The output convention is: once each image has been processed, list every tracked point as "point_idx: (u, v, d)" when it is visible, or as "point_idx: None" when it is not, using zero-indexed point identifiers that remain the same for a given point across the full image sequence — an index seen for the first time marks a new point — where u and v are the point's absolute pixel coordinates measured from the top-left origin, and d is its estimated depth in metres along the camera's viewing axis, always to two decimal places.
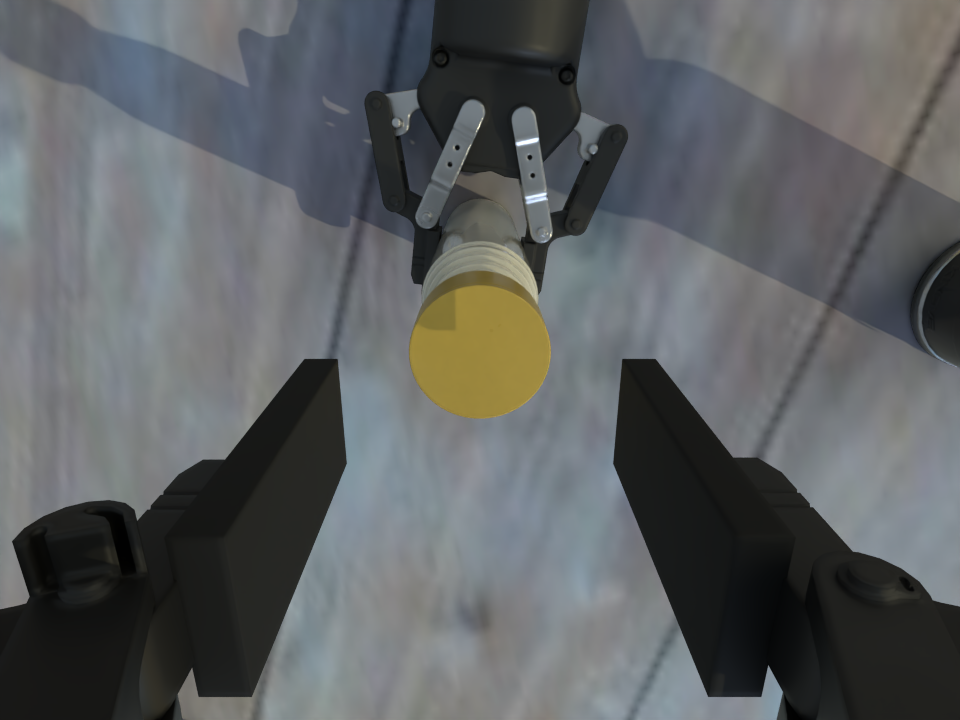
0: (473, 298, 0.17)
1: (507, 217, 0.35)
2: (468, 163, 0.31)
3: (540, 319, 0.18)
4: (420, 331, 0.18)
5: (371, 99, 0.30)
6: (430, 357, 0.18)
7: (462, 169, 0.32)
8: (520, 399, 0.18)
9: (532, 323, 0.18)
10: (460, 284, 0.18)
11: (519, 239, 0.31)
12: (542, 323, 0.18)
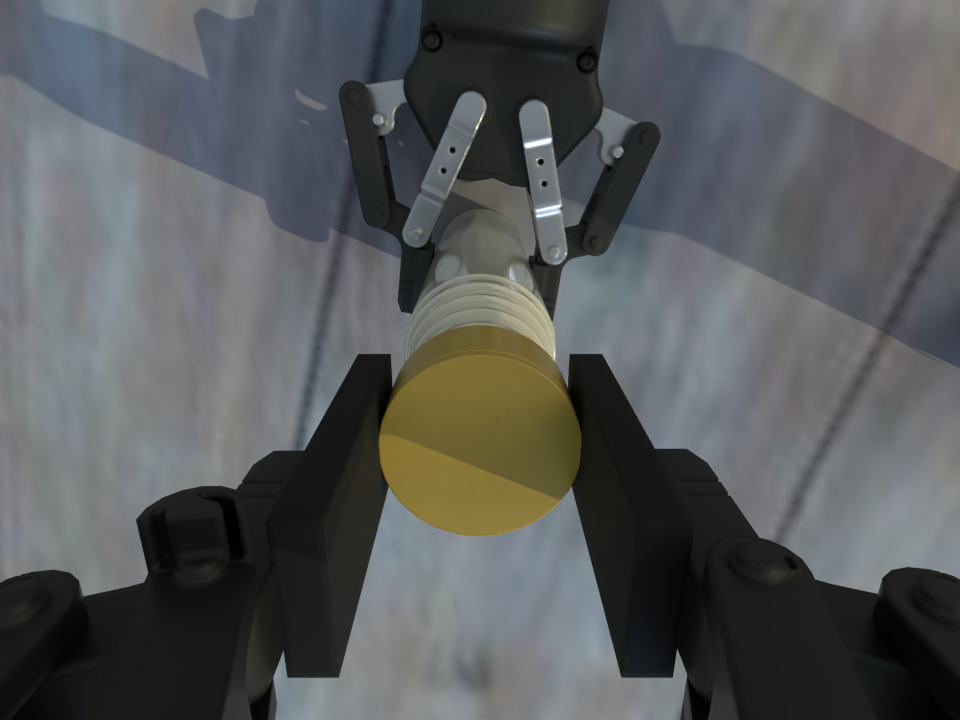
0: (470, 373, 0.12)
1: (512, 232, 0.29)
2: (466, 169, 0.26)
3: (568, 402, 0.12)
4: (394, 419, 0.12)
5: (347, 91, 0.25)
6: (409, 455, 0.12)
7: (458, 176, 0.26)
8: (537, 511, 0.13)
9: (556, 408, 0.12)
10: (452, 351, 0.12)
11: None
12: (571, 408, 0.12)
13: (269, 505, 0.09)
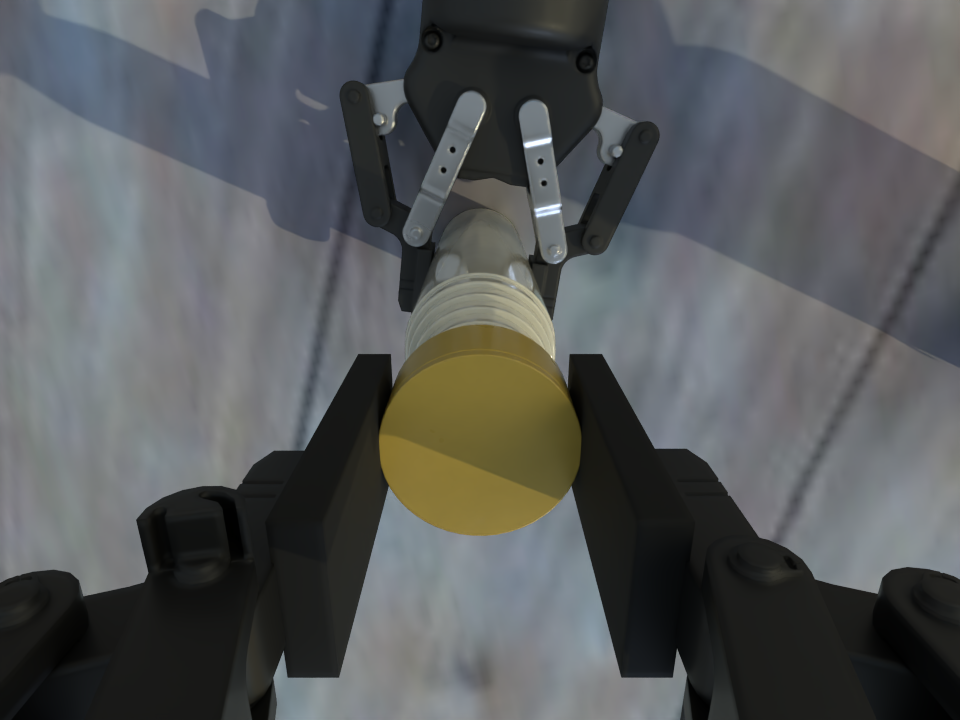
0: (399, 467, 0.13)
1: (512, 231, 0.30)
2: (466, 168, 0.26)
3: (414, 378, 0.12)
4: (456, 525, 0.13)
5: (348, 91, 0.25)
6: (492, 510, 0.13)
7: (459, 176, 0.26)
8: (545, 388, 0.12)
9: (421, 388, 0.12)
10: None
11: (527, 260, 0.26)
12: (419, 374, 0.12)
13: (269, 505, 0.09)
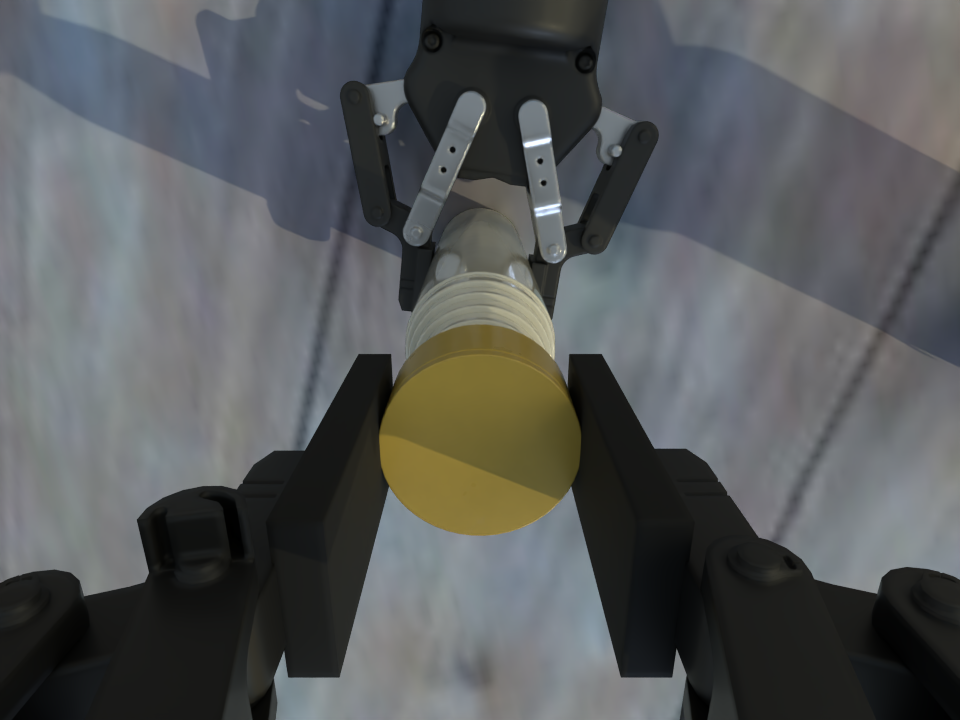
0: (508, 517, 0.13)
1: (512, 231, 0.30)
2: (466, 168, 0.26)
3: (413, 512, 0.13)
4: (570, 463, 0.13)
5: (348, 91, 0.25)
6: (549, 431, 0.12)
7: (459, 175, 0.26)
8: (402, 401, 0.12)
9: (422, 505, 0.13)
10: None
11: (527, 260, 0.26)
12: (408, 508, 0.13)
13: (270, 505, 0.09)
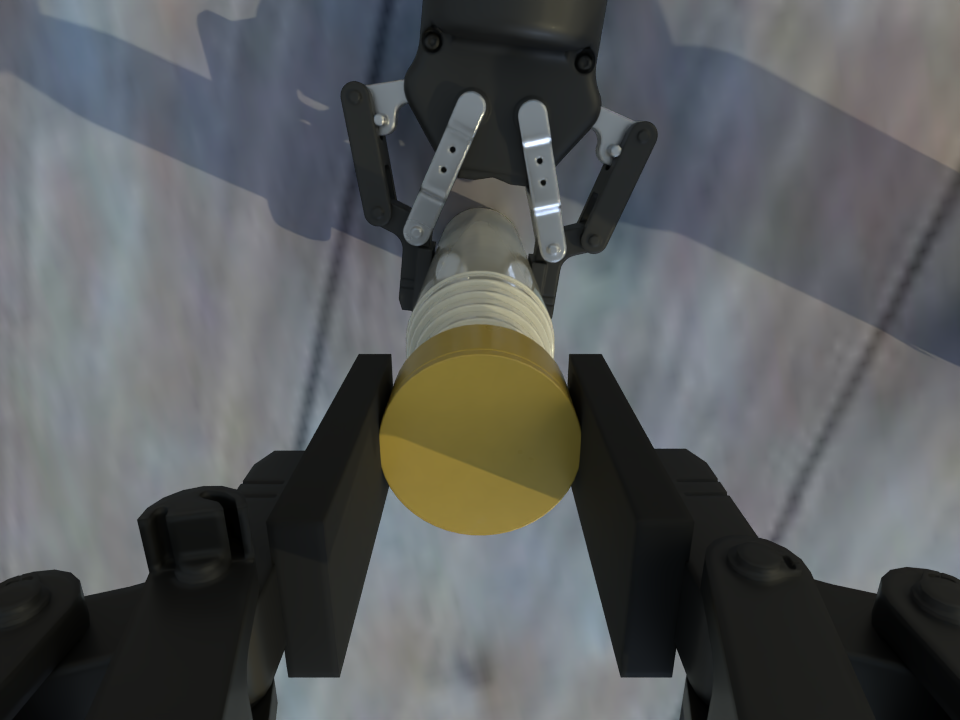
0: (556, 415, 0.12)
1: (512, 231, 0.30)
2: (466, 168, 0.26)
3: (558, 501, 0.13)
4: (482, 365, 0.12)
5: (348, 91, 0.25)
6: (449, 391, 0.12)
7: (459, 175, 0.26)
8: (438, 519, 0.13)
9: (549, 495, 0.13)
10: (561, 385, 0.12)
11: (527, 259, 0.26)
12: (553, 505, 0.13)
13: (270, 505, 0.09)
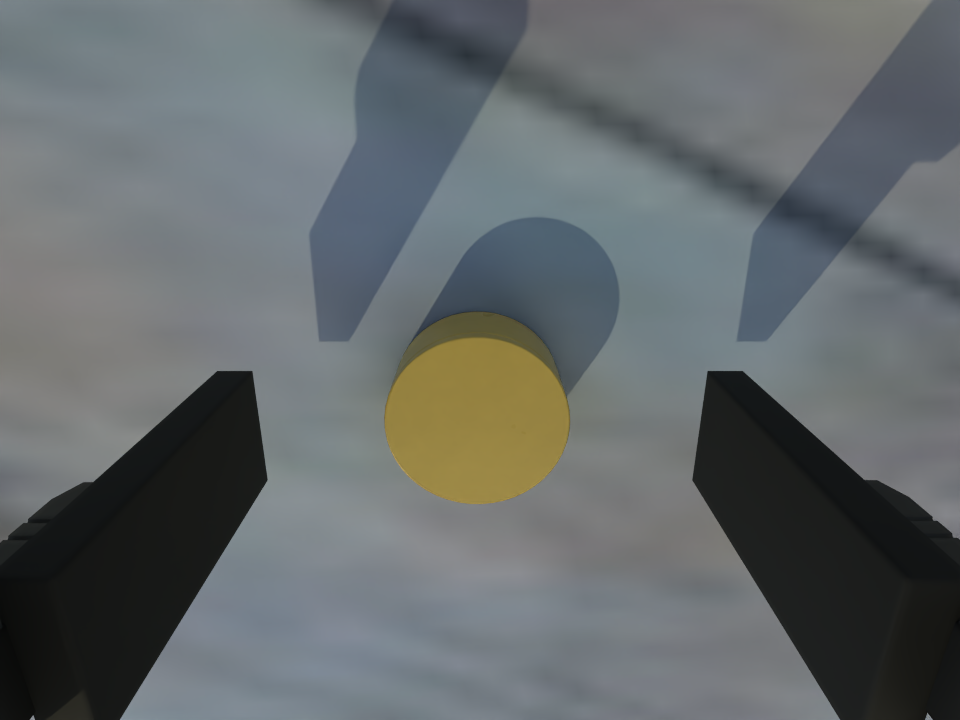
0: (546, 392, 0.13)
1: None
2: None
3: (548, 472, 0.14)
4: (478, 347, 0.13)
5: None
6: (448, 370, 0.13)
7: None
8: (439, 489, 0.14)
9: (540, 466, 0.14)
10: (551, 365, 0.14)
11: None
12: (544, 476, 0.14)
13: None
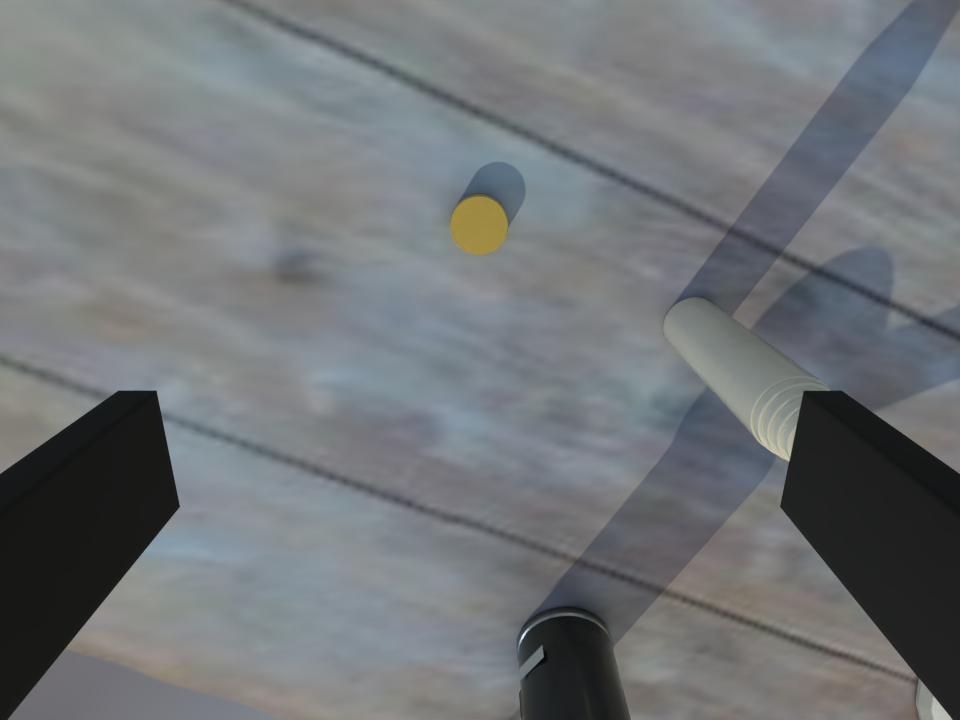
0: (500, 214, 0.44)
1: None
2: None
3: (501, 242, 0.45)
4: (479, 199, 0.44)
5: None
6: (470, 207, 0.44)
7: None
8: (467, 248, 0.45)
9: (499, 240, 0.45)
10: (501, 207, 0.44)
11: None
12: (500, 244, 0.45)
13: None
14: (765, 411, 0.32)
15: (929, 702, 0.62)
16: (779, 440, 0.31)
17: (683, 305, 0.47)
